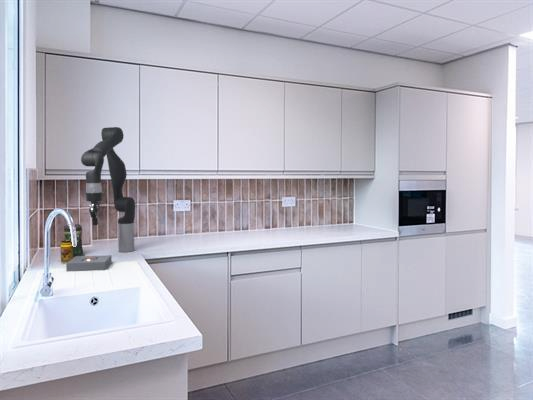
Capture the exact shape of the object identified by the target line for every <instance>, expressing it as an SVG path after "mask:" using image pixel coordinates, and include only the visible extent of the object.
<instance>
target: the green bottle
mask: <svg viewBox="0 0 533 400" xmlns="http://www.w3.org/2000/svg"><path fill="white" fill-rule="evenodd" d="M68 225H69V224H65V225H63V226H64V227H63V235H64V240H66V239H71V234H70V229H69V226H68ZM75 227H76V232H77V246H76V247H73V258H74V257H75V256H84V249H83V243H82V233H83V228H82V225H81V224H79V223H78V224H75Z"/></svg>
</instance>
